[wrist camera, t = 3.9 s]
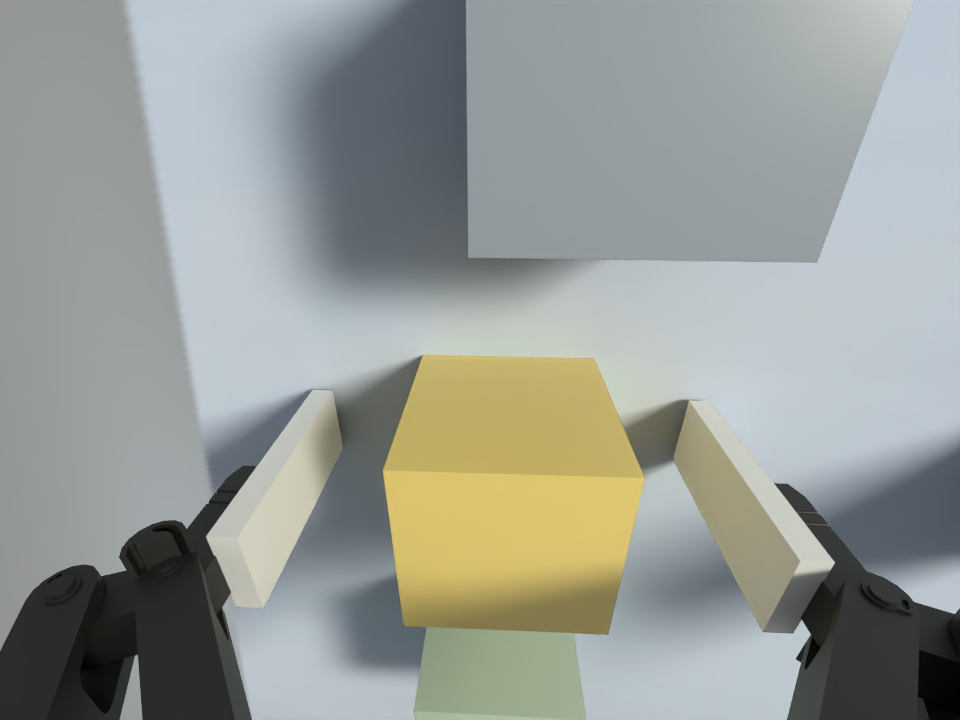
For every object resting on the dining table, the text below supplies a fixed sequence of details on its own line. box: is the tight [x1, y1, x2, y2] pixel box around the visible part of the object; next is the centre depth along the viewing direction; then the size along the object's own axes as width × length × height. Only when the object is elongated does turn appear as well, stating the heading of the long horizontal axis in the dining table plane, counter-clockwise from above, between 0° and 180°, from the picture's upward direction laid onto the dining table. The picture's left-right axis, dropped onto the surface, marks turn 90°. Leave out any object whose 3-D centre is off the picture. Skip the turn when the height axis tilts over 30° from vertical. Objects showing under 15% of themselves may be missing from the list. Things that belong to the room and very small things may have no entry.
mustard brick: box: [383, 355, 645, 635], centre depth 14 cm, size 6×6×6 cm
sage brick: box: [414, 627, 586, 720], centre depth 19 cm, size 6×6×6 cm
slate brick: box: [466, 0, 914, 263], centre depth 9 cm, size 6×6×6 cm
